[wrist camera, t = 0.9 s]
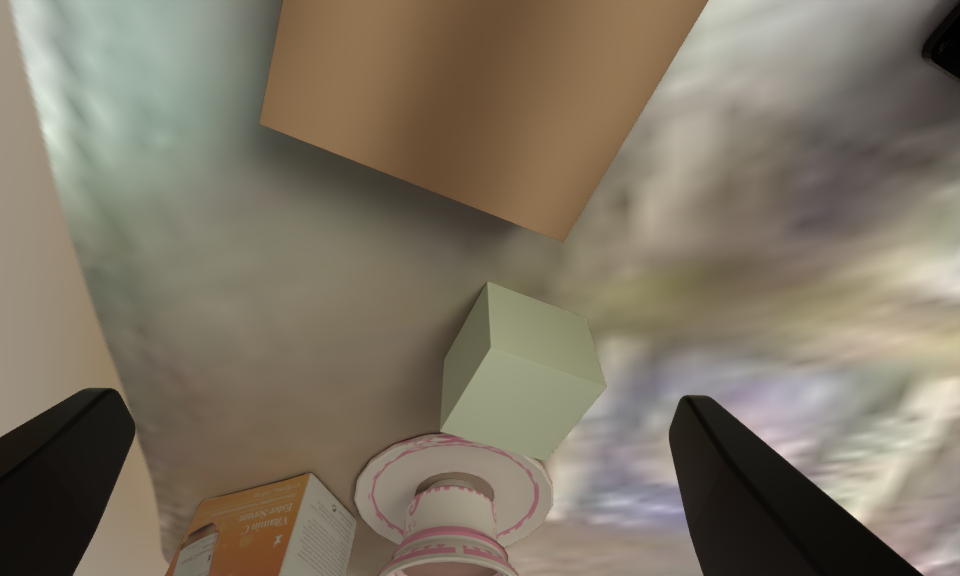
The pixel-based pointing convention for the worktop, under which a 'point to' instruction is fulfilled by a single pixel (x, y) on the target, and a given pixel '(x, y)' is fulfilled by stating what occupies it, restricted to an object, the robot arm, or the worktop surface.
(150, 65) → the worktop surface
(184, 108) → the worktop surface
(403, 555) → the teacup
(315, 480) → the small box
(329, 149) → the walnut block
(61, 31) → the worktop surface
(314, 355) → the worktop surface
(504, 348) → the sage block
